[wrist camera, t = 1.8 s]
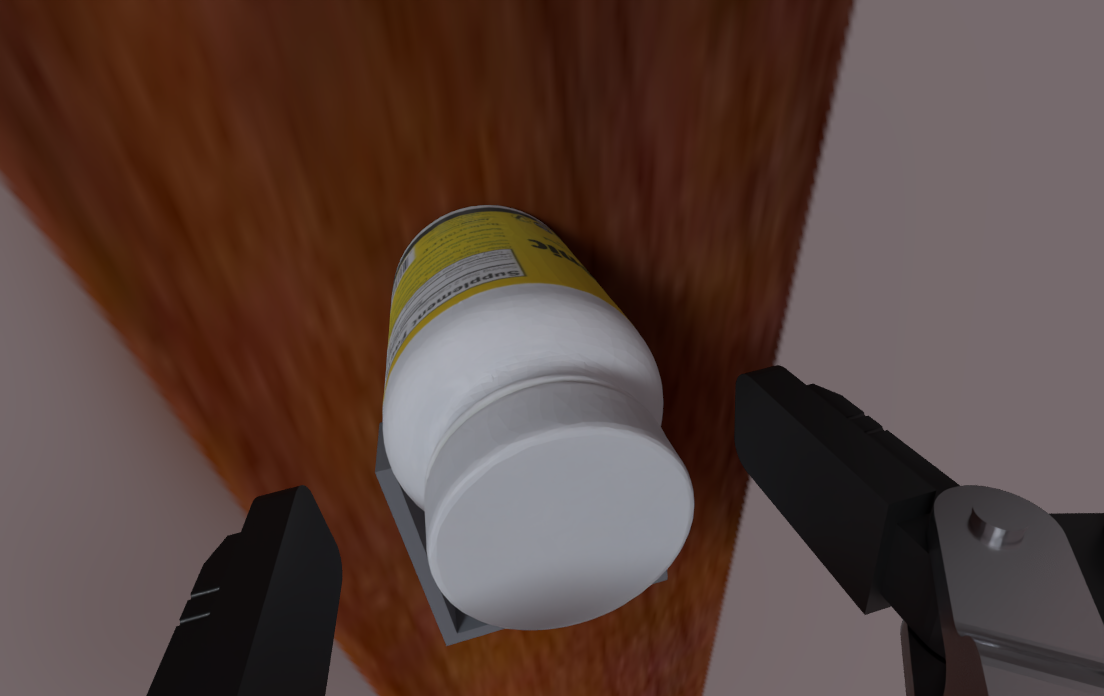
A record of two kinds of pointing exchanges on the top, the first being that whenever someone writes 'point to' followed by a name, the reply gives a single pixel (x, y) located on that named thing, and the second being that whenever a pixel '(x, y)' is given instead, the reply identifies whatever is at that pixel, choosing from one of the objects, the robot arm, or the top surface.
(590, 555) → the supplement bottle
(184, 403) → the top surface
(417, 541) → the tray
